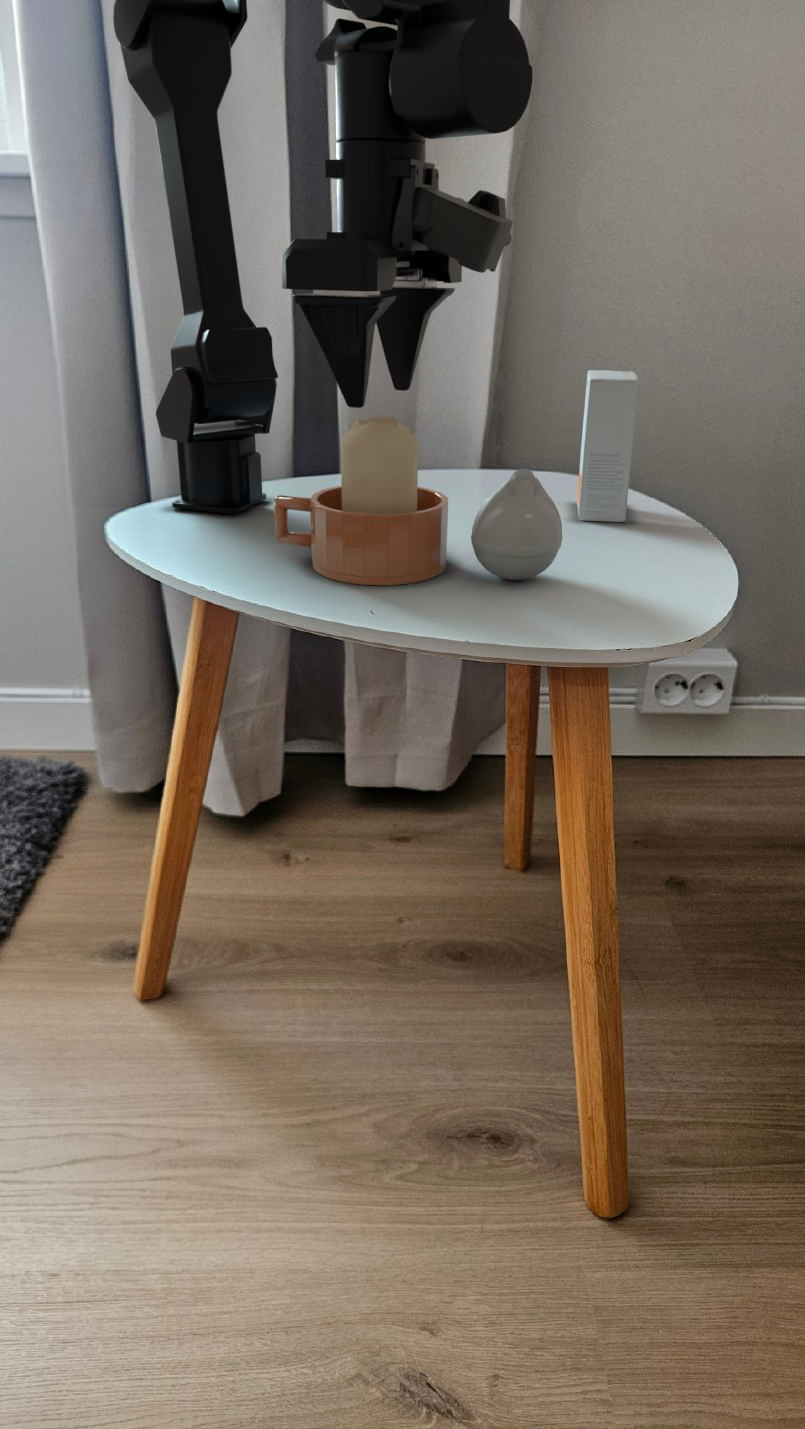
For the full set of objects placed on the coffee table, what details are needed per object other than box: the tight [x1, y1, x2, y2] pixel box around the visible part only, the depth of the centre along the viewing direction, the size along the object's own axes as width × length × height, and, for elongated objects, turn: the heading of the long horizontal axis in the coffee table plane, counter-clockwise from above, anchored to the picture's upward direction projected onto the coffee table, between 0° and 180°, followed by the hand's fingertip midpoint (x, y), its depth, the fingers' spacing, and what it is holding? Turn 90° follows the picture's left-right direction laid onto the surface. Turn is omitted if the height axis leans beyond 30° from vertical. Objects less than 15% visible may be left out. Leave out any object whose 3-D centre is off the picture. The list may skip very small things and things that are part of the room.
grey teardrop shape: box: [470, 468, 563, 581], centre depth 71 cm, size 7×7×8 cm
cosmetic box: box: [576, 369, 640, 523], centre depth 87 cm, size 6×4×12 cm
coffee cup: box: [273, 485, 449, 586], centre depth 74 cm, size 14×10×5 cm
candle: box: [340, 416, 419, 514], centre depth 72 cm, size 6×6×10 cm
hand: (380, 398), depth 70 cm, fingers open, 9 cm apart
